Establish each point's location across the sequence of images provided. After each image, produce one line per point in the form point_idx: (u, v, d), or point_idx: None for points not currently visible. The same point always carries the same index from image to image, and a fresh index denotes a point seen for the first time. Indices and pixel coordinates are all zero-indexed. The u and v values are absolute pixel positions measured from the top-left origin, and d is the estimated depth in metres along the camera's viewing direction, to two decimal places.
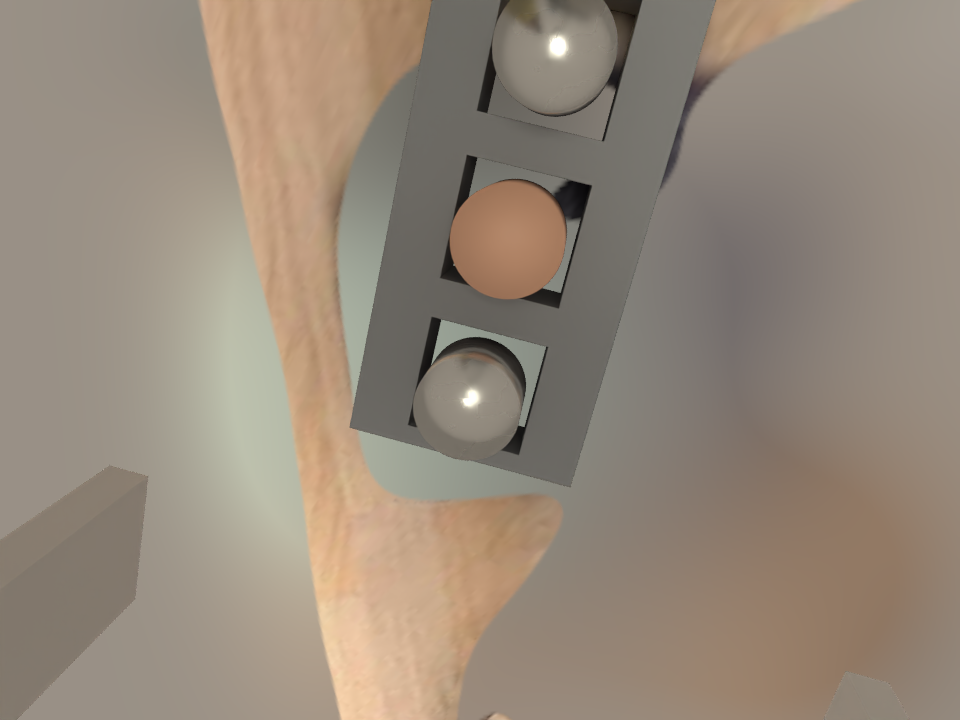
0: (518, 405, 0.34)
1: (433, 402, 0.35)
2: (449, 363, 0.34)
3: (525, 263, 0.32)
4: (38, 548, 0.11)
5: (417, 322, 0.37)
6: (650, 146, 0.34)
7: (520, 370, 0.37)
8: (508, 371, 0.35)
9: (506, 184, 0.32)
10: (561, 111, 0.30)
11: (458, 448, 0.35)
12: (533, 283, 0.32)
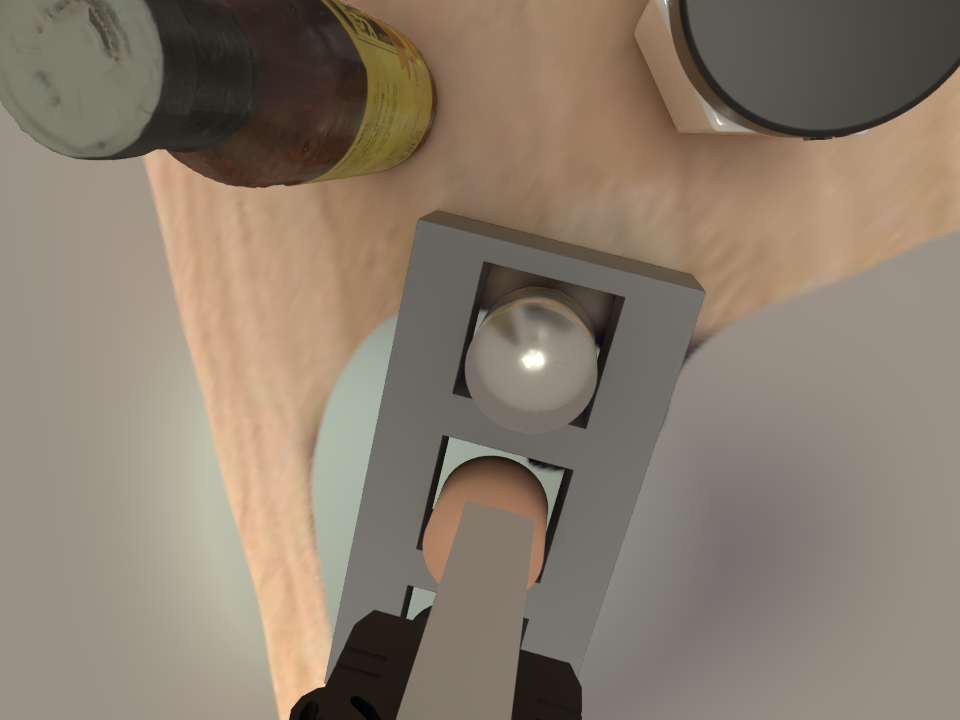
0: None
1: None
2: None
3: None
4: (475, 577, 0.13)
5: (392, 588, 0.36)
6: (634, 436, 0.32)
7: None
8: None
9: (481, 497, 0.30)
10: (538, 431, 0.29)
11: None
12: None
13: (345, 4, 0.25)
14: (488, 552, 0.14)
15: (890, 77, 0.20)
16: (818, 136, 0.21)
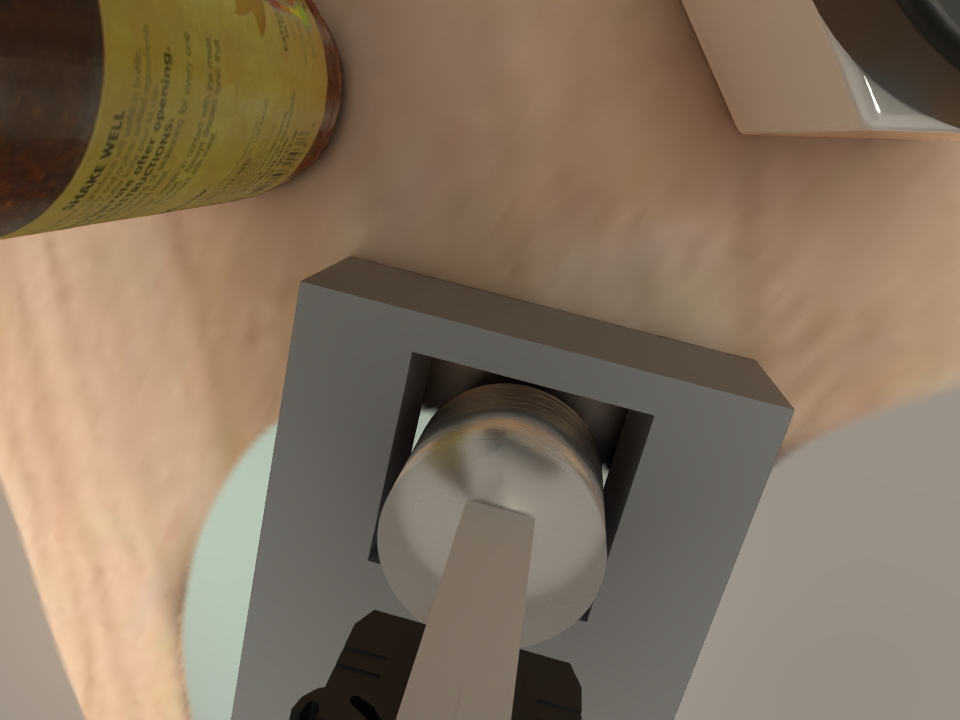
0: None
1: None
2: None
3: None
4: (475, 577, 0.13)
5: None
6: (667, 635, 0.19)
7: None
8: None
9: None
10: None
11: None
12: None
13: None
14: (488, 552, 0.14)
15: None
16: None
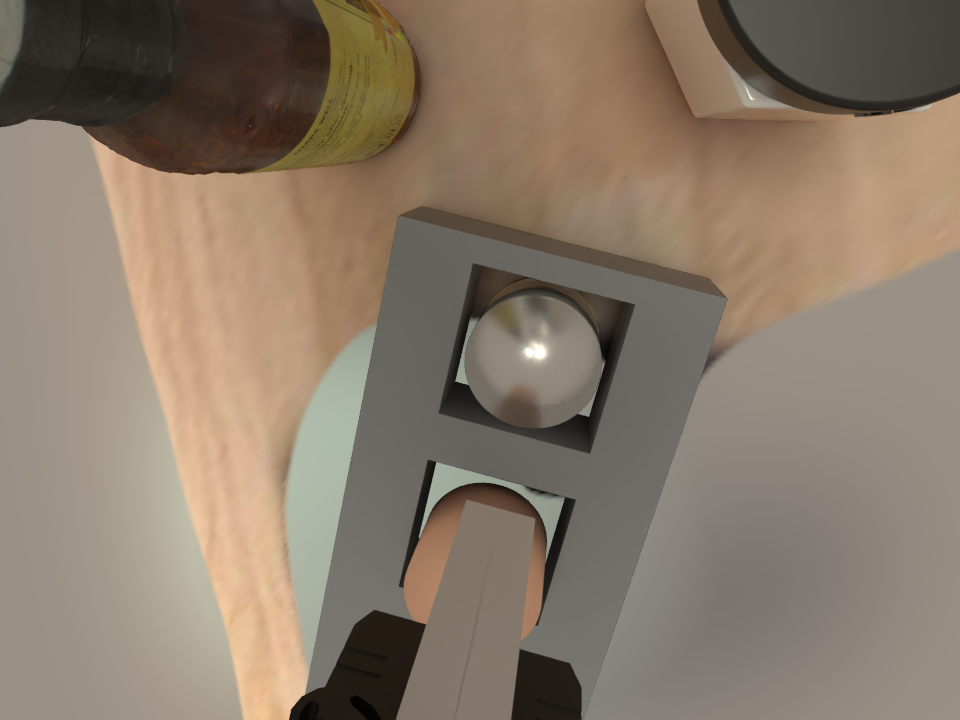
0: None
1: None
2: None
3: None
4: (475, 577, 0.13)
5: None
6: (645, 461, 0.28)
7: None
8: None
9: None
10: (540, 426, 0.28)
11: None
12: None
13: None
14: (488, 552, 0.14)
15: None
16: (877, 109, 0.17)
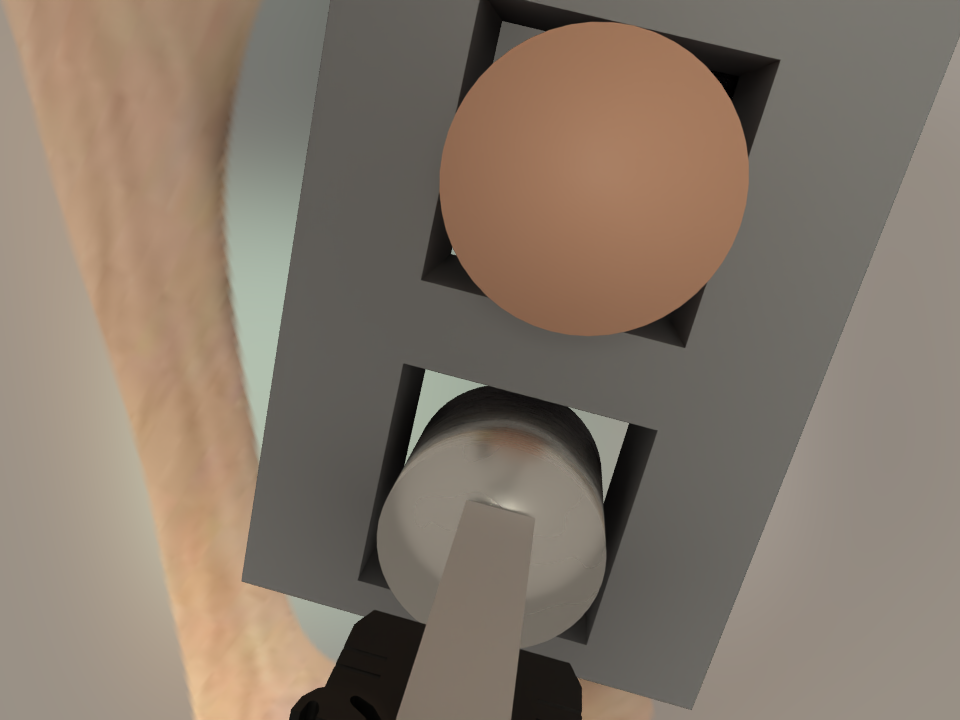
0: (603, 544, 0.16)
1: (420, 534, 0.16)
2: (454, 454, 0.16)
3: (637, 242, 0.12)
4: (475, 577, 0.13)
5: (372, 374, 0.17)
6: None
7: (594, 452, 0.19)
8: (578, 466, 0.16)
9: (593, 26, 0.12)
10: None
11: None
12: (656, 296, 0.13)
13: None
14: (488, 552, 0.14)
15: None
16: None
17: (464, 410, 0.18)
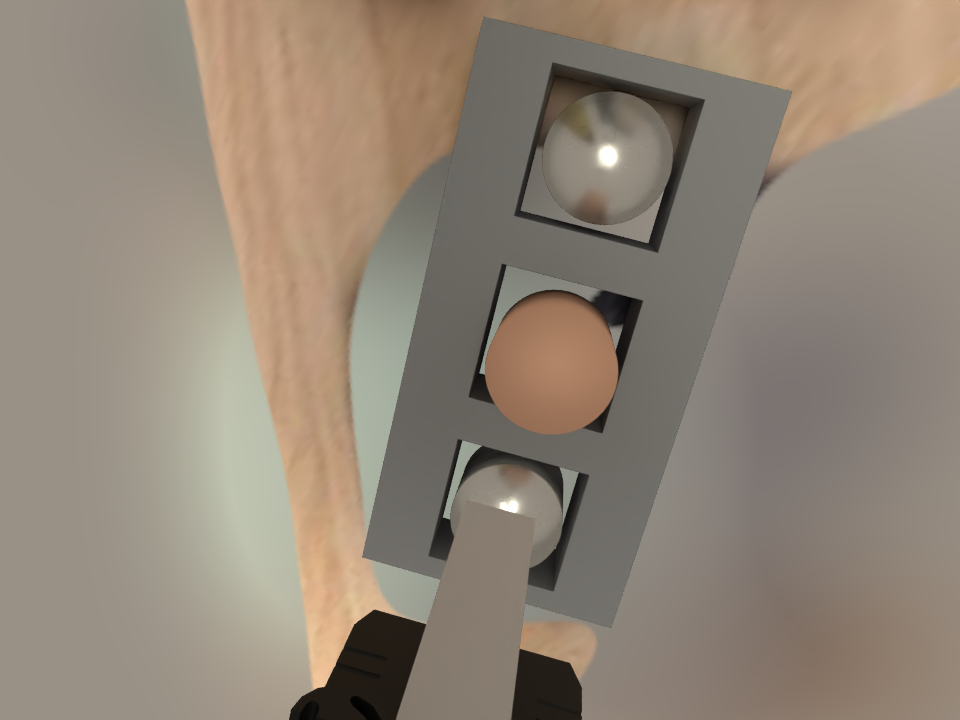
0: (560, 517, 0.33)
1: None
2: (490, 474, 0.33)
3: (571, 395, 0.28)
4: (475, 577, 0.13)
5: (441, 444, 0.33)
6: (710, 259, 0.30)
7: (559, 473, 0.36)
8: (549, 479, 0.34)
9: (551, 308, 0.28)
10: (612, 223, 0.30)
11: None
12: (580, 418, 0.28)
13: None
14: (488, 552, 0.14)
15: None
16: None
17: (492, 451, 0.35)
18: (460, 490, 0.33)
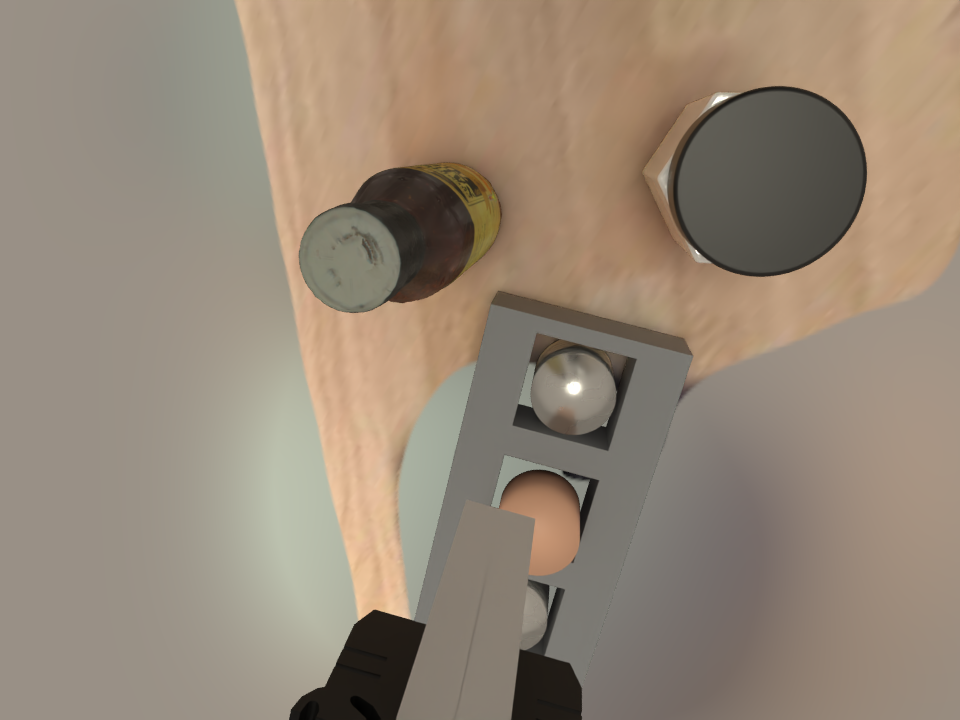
0: (546, 617, 0.48)
1: None
2: None
3: (550, 552, 0.43)
4: (475, 577, 0.13)
5: None
6: (643, 455, 0.45)
7: None
8: (538, 590, 0.49)
9: (536, 499, 0.43)
10: (577, 433, 0.45)
11: None
12: (555, 566, 0.44)
13: (453, 173, 0.38)
14: (488, 552, 0.14)
15: (801, 243, 0.33)
16: (759, 276, 0.33)
17: None
18: None
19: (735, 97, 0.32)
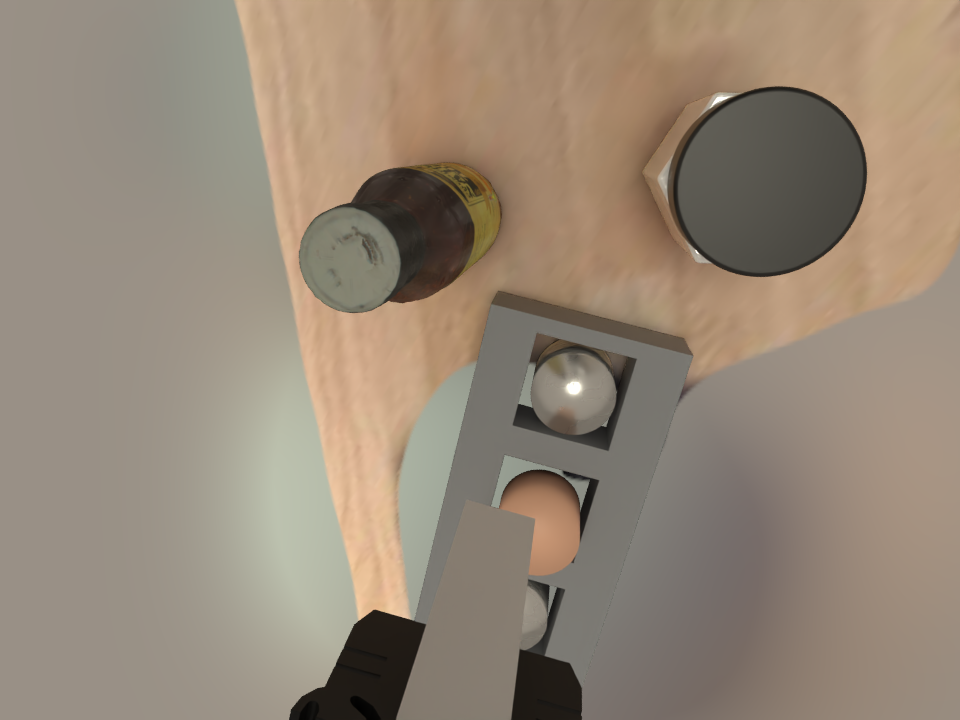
0: (546, 617, 0.48)
1: None
2: None
3: (550, 552, 0.43)
4: (475, 577, 0.13)
5: None
6: (643, 455, 0.45)
7: None
8: (538, 590, 0.49)
9: (536, 499, 0.43)
10: (577, 433, 0.45)
11: None
12: (556, 566, 0.44)
13: (453, 173, 0.38)
14: (488, 552, 0.14)
15: (801, 243, 0.33)
16: (759, 276, 0.33)
17: None
18: None
19: (735, 97, 0.32)
